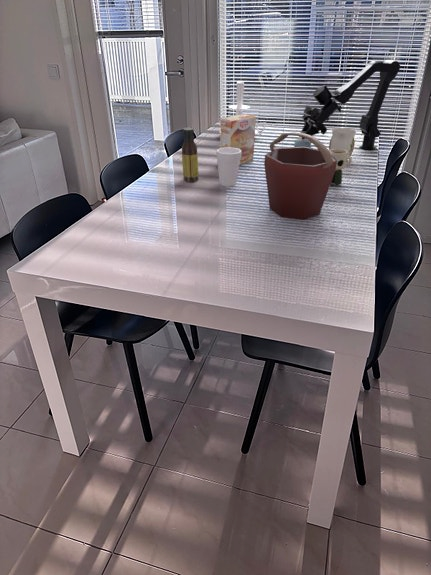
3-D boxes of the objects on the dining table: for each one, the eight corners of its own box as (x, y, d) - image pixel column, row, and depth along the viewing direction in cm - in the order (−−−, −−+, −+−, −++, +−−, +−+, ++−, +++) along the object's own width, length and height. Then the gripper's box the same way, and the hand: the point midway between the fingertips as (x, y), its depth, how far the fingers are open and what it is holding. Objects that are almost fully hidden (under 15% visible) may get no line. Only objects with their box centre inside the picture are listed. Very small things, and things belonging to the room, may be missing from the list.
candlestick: (261, 144, 221) (265, 84, 206) (215, 141, 226) (215, 82, 211) (267, 135, 238) (271, 79, 223) (224, 132, 243) (225, 77, 228)
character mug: (318, 185, 170) (322, 152, 163) (320, 179, 175) (324, 147, 168) (346, 188, 167) (352, 154, 160) (347, 182, 173) (353, 149, 166)
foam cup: (243, 182, 172) (245, 149, 165) (234, 189, 165) (235, 155, 158) (221, 178, 176) (222, 146, 168) (212, 185, 168) (212, 152, 161)
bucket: (251, 201, 155) (255, 129, 141) (303, 193, 162) (312, 124, 149) (286, 228, 136) (295, 148, 122) (344, 217, 143) (358, 140, 130)
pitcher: (353, 155, 205) (358, 125, 198) (349, 166, 191) (355, 134, 183) (330, 153, 208) (334, 123, 201) (324, 163, 194) (329, 132, 186)
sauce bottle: (198, 177, 177) (197, 126, 166) (198, 182, 171) (197, 130, 161) (182, 177, 176) (181, 126, 166) (182, 182, 171) (180, 130, 160)
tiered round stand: (298, 146, 218) (299, 135, 215) (320, 151, 211) (322, 139, 208) (283, 151, 210) (284, 139, 207) (305, 157, 203) (307, 144, 200)
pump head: (302, 137, 209) (303, 130, 207) (308, 139, 207) (309, 131, 205) (298, 139, 207) (299, 131, 205) (304, 140, 205) (305, 133, 203)
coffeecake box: (229, 167, 188) (231, 120, 177) (219, 164, 192) (219, 118, 182) (254, 161, 196) (256, 116, 186) (243, 157, 201) (245, 113, 190)
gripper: (308, 96, 206) (284, 121, 210) (324, 103, 191) (298, 130, 195) (321, 113, 212) (297, 137, 216) (337, 121, 196) (312, 147, 200)
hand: (300, 137), depth 206 cm, fingers closed on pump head, 3 cm apart
